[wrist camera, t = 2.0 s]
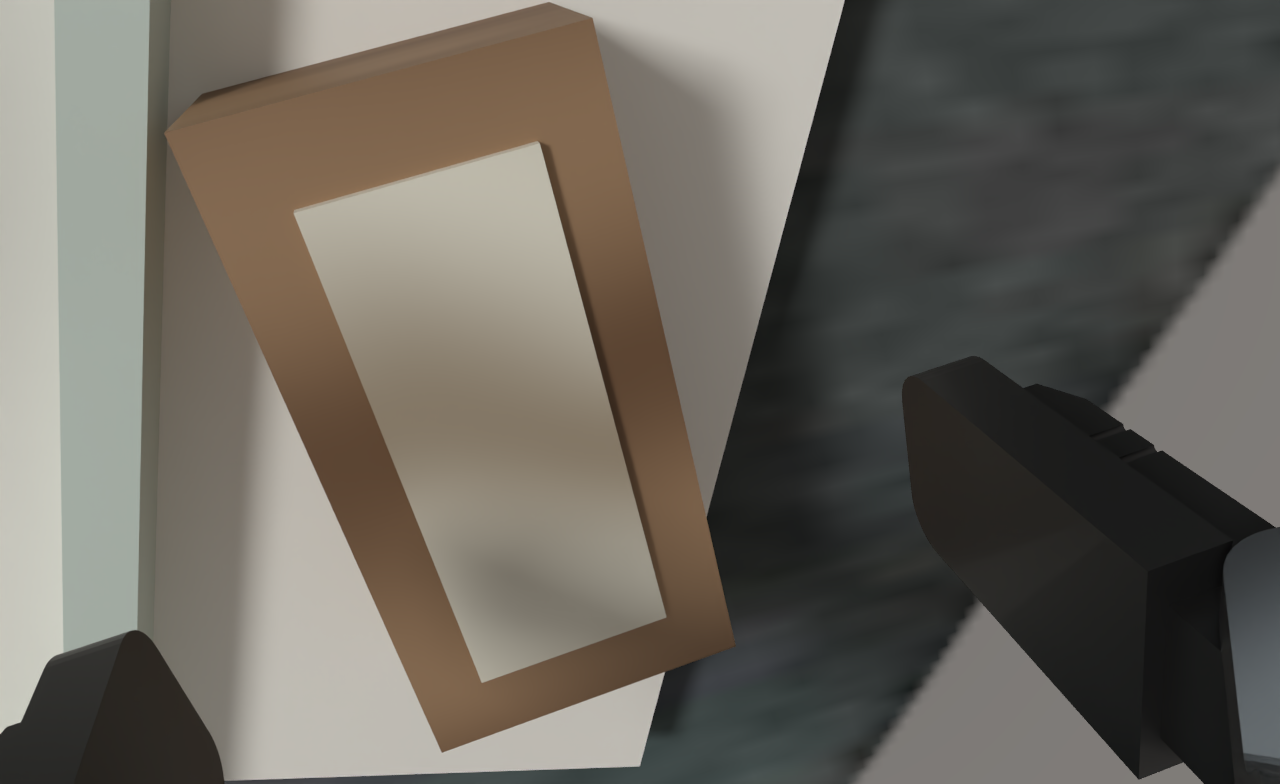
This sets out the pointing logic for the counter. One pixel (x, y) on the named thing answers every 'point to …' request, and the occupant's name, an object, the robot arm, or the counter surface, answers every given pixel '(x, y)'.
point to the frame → (471, 356)
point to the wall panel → (245, 388)
